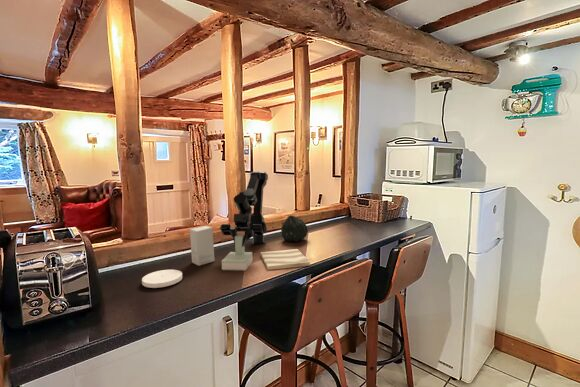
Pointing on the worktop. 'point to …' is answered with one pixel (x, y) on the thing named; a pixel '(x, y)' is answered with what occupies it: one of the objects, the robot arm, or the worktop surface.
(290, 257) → the birch board
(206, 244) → the skincare box
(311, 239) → the worktop surface
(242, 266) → the tray
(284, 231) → the squash
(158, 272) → the plastic lid
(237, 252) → the sage lid
